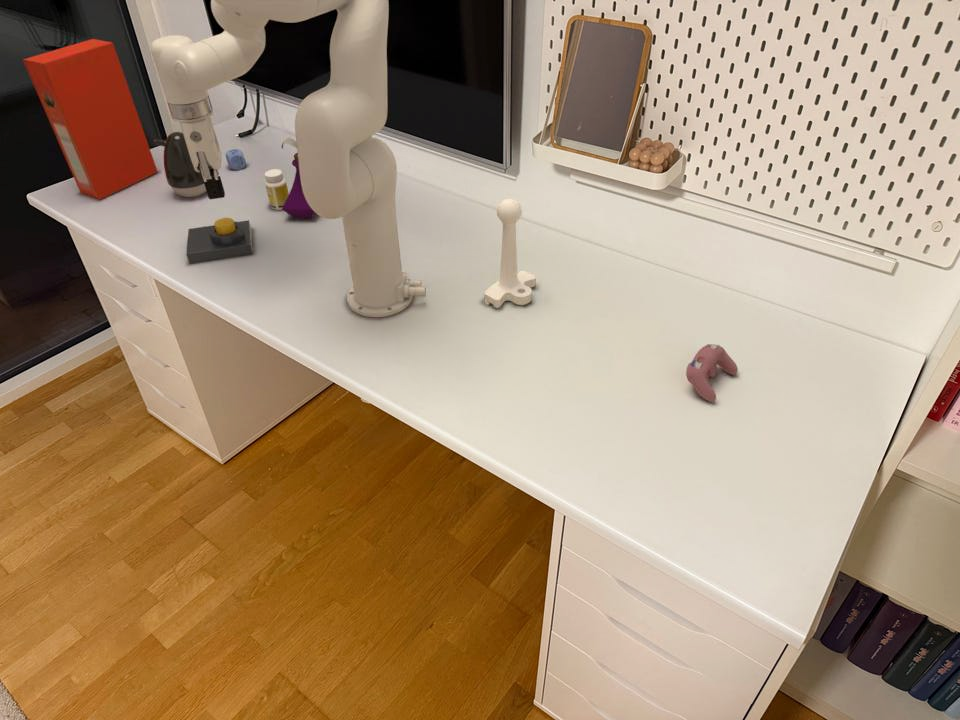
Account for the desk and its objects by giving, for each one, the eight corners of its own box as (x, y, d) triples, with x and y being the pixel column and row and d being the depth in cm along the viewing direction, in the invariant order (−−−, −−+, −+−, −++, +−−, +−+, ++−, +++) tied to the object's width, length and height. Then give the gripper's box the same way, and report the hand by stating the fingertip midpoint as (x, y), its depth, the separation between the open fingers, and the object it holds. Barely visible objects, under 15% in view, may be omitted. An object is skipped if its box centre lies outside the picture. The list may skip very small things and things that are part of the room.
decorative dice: (231, 171, 180) (227, 156, 178) (228, 165, 183) (224, 151, 180) (247, 167, 182) (243, 153, 179) (243, 162, 184) (239, 147, 182)
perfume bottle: (325, 207, 164) (311, 133, 152) (316, 222, 158) (301, 147, 147) (294, 206, 165) (278, 132, 153) (284, 221, 159) (267, 146, 147)
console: (251, 229, 156) (246, 211, 153) (252, 254, 148) (248, 236, 145) (191, 238, 154) (185, 220, 151) (189, 264, 146) (183, 245, 143)
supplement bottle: (293, 201, 167) (286, 168, 161) (287, 210, 163) (280, 177, 158) (274, 200, 167) (266, 168, 162) (267, 210, 163) (259, 176, 158)
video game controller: (715, 371, 119) (705, 335, 116) (740, 372, 115) (730, 335, 113) (689, 402, 113) (677, 366, 110) (715, 404, 110) (704, 366, 107)
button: (235, 224, 150) (233, 216, 149) (236, 233, 147) (233, 225, 146) (216, 227, 149) (214, 219, 148) (216, 236, 146) (214, 228, 145)
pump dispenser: (169, 188, 173) (149, 129, 163) (211, 180, 176) (194, 121, 167) (173, 205, 166) (153, 144, 156) (218, 196, 169) (200, 136, 159)
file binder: (79, 193, 172) (22, 58, 152) (137, 166, 183) (91, 38, 163) (100, 200, 169) (44, 64, 148) (158, 173, 180) (113, 42, 160)
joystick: (519, 277, 139) (521, 185, 126) (548, 292, 135) (552, 199, 122) (480, 300, 134) (478, 206, 121) (508, 317, 129) (509, 221, 116)
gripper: (210, 119, 126) (236, 210, 138) (212, 92, 137) (235, 179, 149) (167, 124, 125) (197, 216, 136) (172, 97, 136) (199, 184, 148)
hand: (217, 196), depth 143 cm, fingers closed
